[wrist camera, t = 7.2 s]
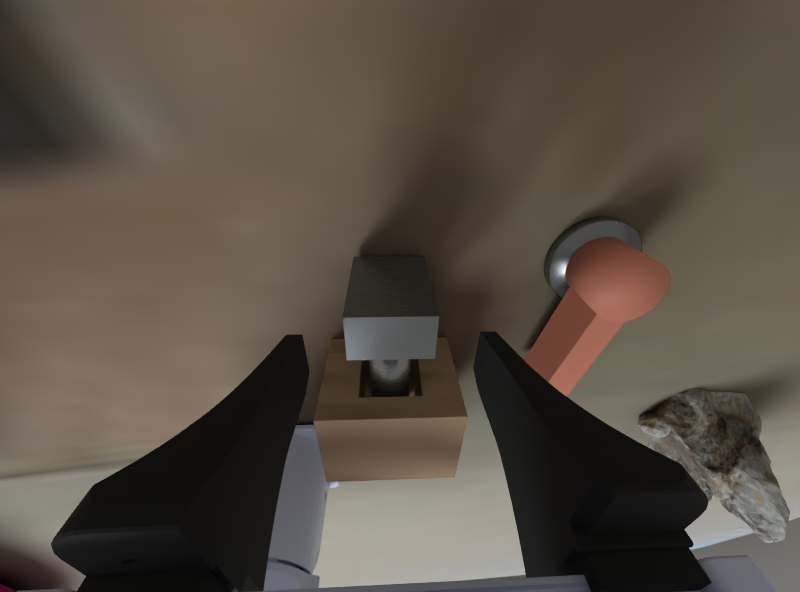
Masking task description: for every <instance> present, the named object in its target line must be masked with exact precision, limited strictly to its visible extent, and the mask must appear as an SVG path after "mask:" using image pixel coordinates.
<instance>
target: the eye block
mask: <svg viewBox="0 0 800 592" xmlns="http://www.w3.org/2000/svg"><path fill="white" fill-rule="evenodd" d="M467 417H468V416H467V412H466V409H465V405H464V401H463V397H462V393H461V390H460V386H459V382H458V378H457V374H456V371H455V367H454V363H453V359H452V355H451V352H450V348H449V344H448V340H447V337H437V343H436V353H435V359H411V363H410V385H409V396H407V397H371V377H370V360H347V356H346V346H345V339H331V342H330V346H329V351H328V355H327V360H326V365H325V369H324V374H323V379H322V383H321V388H320V392H319V397H318V402H317V406H316V411H315V416H314V420H313V422H314V427H315V431H316V436H317V441H318V445H319V450H320V455H321V459H322V464H323V469H324V473H325V478H326V482H341V481H367V480H394V479H420V478H446V477H455V475H456V470H457V465H458V460H459V455H460V451H461V446H462V441H463V436H464V431H465V427H466V422H467Z"/></svg>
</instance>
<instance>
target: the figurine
mask: <svg viewBox="0 0 800 592" xmlns="http://www.w3.org/2000/svg"><path fill="white" fill-rule="evenodd" d="M0 592H15V591H13V590H12V589H10V588H8V587H6V586H4V585H2V584H0Z"/></svg>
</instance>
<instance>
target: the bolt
mask: <svg viewBox="0 0 800 592" xmlns="http://www.w3.org/2000/svg"><path fill="white" fill-rule="evenodd" d="M438 324H439V313H438V309H437V305H436V301H435V297H434V294H433V290H432V286H431V282H430V278H429V274H428V270H427V266H426V262H425V258H424V256H383V257H354V258H353V264H352V269H351V275H350V280H349V286H348V291H347V296H346V302H345V307H344V313H343V327H344V336H345V346H346V356H347V360H370V377H371V397H407V396H409V385H410V363H411V359H435V353H436V343H437V334H438Z"/></svg>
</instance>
